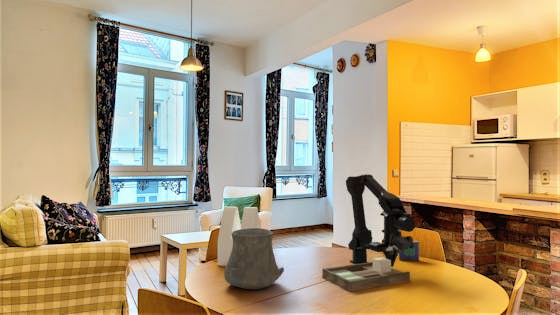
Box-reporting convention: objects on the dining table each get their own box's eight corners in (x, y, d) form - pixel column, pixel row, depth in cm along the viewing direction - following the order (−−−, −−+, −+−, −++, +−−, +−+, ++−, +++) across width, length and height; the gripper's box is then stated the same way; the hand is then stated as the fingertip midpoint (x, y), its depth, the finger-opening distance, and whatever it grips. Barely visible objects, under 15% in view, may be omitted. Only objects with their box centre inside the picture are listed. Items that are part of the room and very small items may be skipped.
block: (372, 269, 148) (372, 258, 148) (382, 268, 150) (382, 257, 150) (380, 273, 143) (380, 261, 143) (390, 271, 145) (390, 260, 145)
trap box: (322, 277, 145) (322, 268, 145) (378, 269, 157) (378, 261, 157) (349, 291, 129) (349, 281, 129) (409, 281, 141) (409, 272, 141)
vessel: (277, 298, 122) (277, 238, 123) (214, 293, 127) (215, 235, 127) (289, 278, 144) (289, 227, 144) (235, 275, 148) (235, 225, 149)
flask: (418, 259, 173) (418, 237, 174) (420, 261, 170) (420, 238, 171) (398, 259, 174) (398, 236, 174) (400, 261, 171) (399, 238, 171)
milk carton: (231, 255, 182) (231, 204, 182) (261, 256, 179) (261, 205, 180) (217, 265, 163) (217, 209, 164) (251, 267, 160) (251, 209, 161)
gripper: (387, 232, 138) (387, 274, 137) (423, 229, 145) (424, 269, 145) (367, 228, 148) (368, 267, 147) (403, 225, 156) (403, 262, 155)
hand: (391, 266), depth 148 cm, fingers closed
